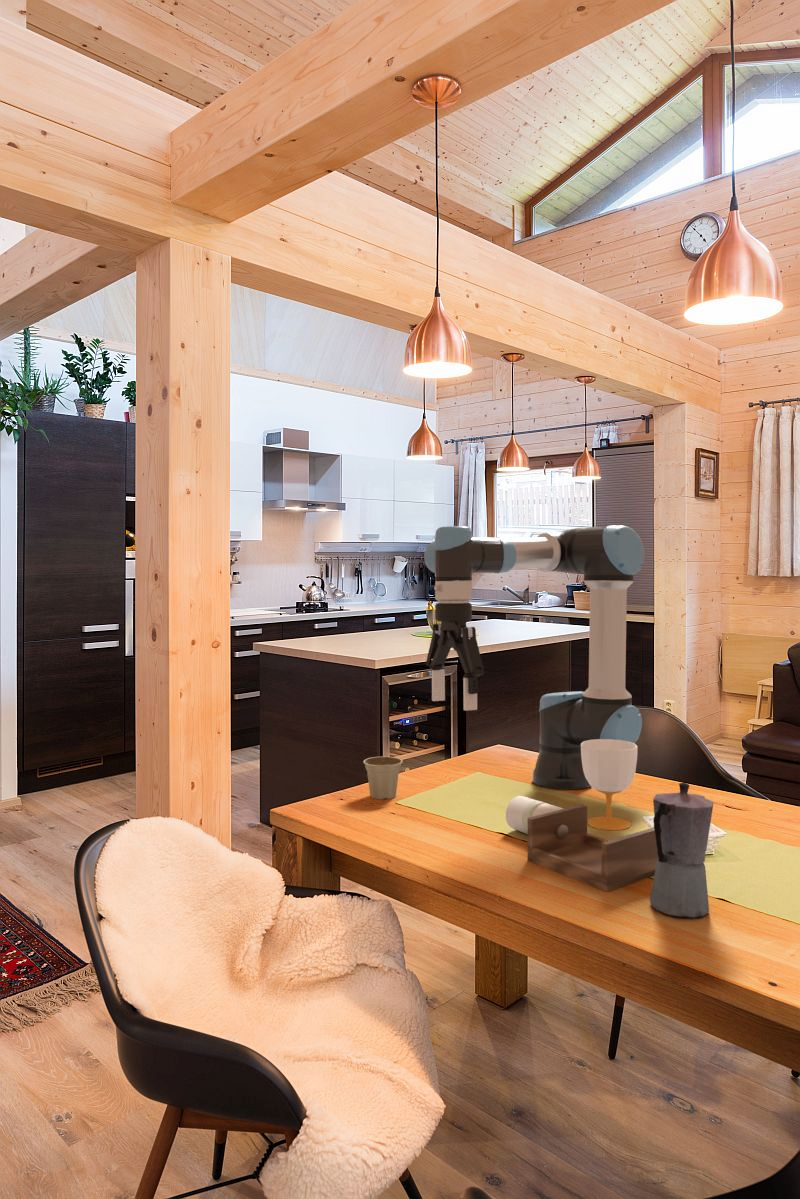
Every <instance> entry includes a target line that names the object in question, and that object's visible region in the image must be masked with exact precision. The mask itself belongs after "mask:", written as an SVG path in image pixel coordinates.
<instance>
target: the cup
mask: <svg viewBox="0 0 800 1199" xmlns="http://www.w3.org/2000/svg"><path fill="white" fill-rule="evenodd" d="M638 748H639V747H638V745H637V744H636V743H631V742H628V741H622V740H613V739H594V740H587V741H583V742H582V743H581V758H582V767H583V771H584V775H585V778H586V779H587V781H588V783H589V784H590V787H591V788H592V789H595V790H596V791H597V792H600V793H602V794H604V796H605V800H606V801H605V802H606V807H605V808H606V809H605V810H606V813H605V816H596V817H591V818H589V819H587V826H590V827H592V828H594V829H597V830H603V831H618V832H619V831H624V830H628V829H630V827H631V826H632V824H631V823H630V821H628V820H626V819H623V818H619V817H616V816H615V817H614V816H612V815H613V814H612V797H613V795H615V794H618V793H619V794H620V793H621V792H624V791H625V790H627V789H628V787H629V786H630V785H631V783H632V782H633V781H634V778H635V774H636V769H637V763H638V750H639V749H638Z"/></svg>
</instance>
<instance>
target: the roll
mask: <svg viewBox="0 0 800 1199" xmlns="http://www.w3.org/2000/svg"><path fill="white" fill-rule="evenodd" d="M561 809H564V807H563V808H562V807H560V806H557V805H553V804H550V803H547V802H544V801H541V800H537V799H533V798H530V797H527V796H524V795H516V796H514V797H513V798H512V799H511V800H510V801H509V802H508V804H507V807H506V811H505V821H506V823H507V826H508V827H510V828H511V829H513V830H516V831H517V832H520V833H524V834H526V835H528V818H529V817H533V816H537V815H541V814H545V813H549V812H553V811H557V810H561Z"/></svg>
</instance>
